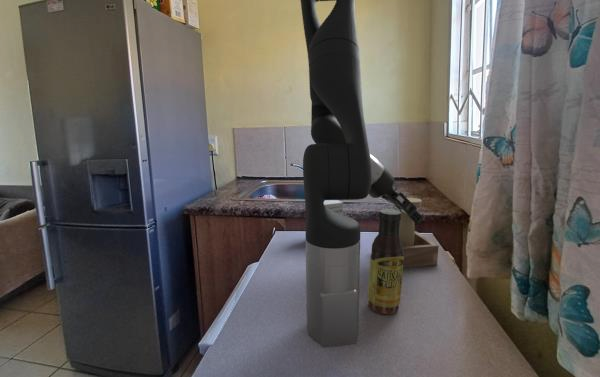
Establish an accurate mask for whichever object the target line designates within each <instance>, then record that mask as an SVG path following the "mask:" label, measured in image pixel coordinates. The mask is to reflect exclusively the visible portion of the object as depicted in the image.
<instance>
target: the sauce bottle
mask: <svg viewBox="0 0 600 377" xmlns="http://www.w3.org/2000/svg"><path fill="white" fill-rule="evenodd" d="M378 218H379V225H378V228H379V229H378V234H377V235H376V236H375V238H374V239H373V242H372V243H371V255H370V259H369V260H370V262H369V276H368V288H367V289H368V291H367V299H368V307H369V308H370V310H371V311H372V312H375V313H378V314H382V315H391V314H394V313H396V312H398V311H399V308H400V307H399V306H400V304H401V295H402V283H403V282H402V280H403V271H404V270H403V269H404V267H403V261H404V254H403V244H402V241H401V239H400V236H399V227H400V220H401V212H400V211H398V210H396V209H394V208H393V209H391V208H382V209H380V210H379V212H378Z"/></svg>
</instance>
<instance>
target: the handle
mask: <svg viewBox="0 0 600 377" xmlns="http://www.w3.org/2000/svg"><path fill="white" fill-rule="evenodd" d="M405 197H406V196H405ZM406 198H407V199H408V200H409V201H410V202H411V203H412V204H413V205H414V206H416V208H417V209H418V208H420V207H421V206H422V199H421V198H415V197H406ZM397 206H399V205H397ZM408 208H409V206H407V207H406V210H407V209H408ZM415 231H416V229H415V222H414V221H413V220H412V219H411V218H410V217H409V216H408V215H406V214H405V213H404V212H403V211H402V210H401V220H400V224H399V236H400V239H401V241H402V244H403V247H406V246H413V245H414V236H415Z"/></svg>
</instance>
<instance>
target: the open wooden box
mask: <svg viewBox="0 0 600 377" xmlns="http://www.w3.org/2000/svg"><path fill="white" fill-rule="evenodd" d="M403 254H404V261H403V268H409V267H410V268H411V267H412V268H414V267H420V266H421V267H422V266H431V265H438V258H439V256H438V255H439V245H438V244H437V243H436V242H434V241H433V240H430V239H429V238H427V237H426V236H424V235H423V234H421V233H419V232H418V231H416V230H415V236H414V245H413V246H406V247H403Z"/></svg>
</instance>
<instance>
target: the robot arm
mask: <svg viewBox="0 0 600 377" xmlns="http://www.w3.org/2000/svg"><path fill="white" fill-rule="evenodd" d="M331 1H336V2H335V3H334V6H333V8H332V10H331V11H330V13H329V14H328V16H327V17H326V18H325V19H324V20H323V22H322V23H320V20H319V18H318V13H317V7H316V6H317V4H316V3H317V2H331ZM300 7H301V16H302V24H303V25H302V26H303V31H304V38H305V45H306V51H307V60H308V62H307V63H308V79H309V97H310V101H311V114H310V115H311V118H310V119H311V120H310V121H311V122H310V123H311V125H310V136H311V138H312V140H313V142H314V143H312V144H309V145H307V147H306V148H305V149H304V151H303V157H302V177H303V179H302V180H303V192H304V204H305V290H306V291H305V292H306V293H305V296H306V297H305V298H306V299H305V300H306V304H305V305H306V330H307V331H306V332H307V334H308V335H309V337H310V338H311V339H313V340H314V341H315V342H318V343H319V344H320V347H322V348H325V347H332V346H340V345H349V344H356V343H357V342H358V333H359V323H360V322H359V320H360V319H359V318H360V315H359V314H360V313H359V312H360V311H359V310H360V304H359V303H360V270H361V269H360V265H361V263H360V261H361V258H360V256H361V226H360V225H361V224H360V223H359V222H358V221H357V220H355V219H354V218H352V217H350V216H347V215H344V214H343V215H341V214H339V213H336V212H334V211H332V210H330V209H329V208H327V207H326V206H325V205H324V201H325V200H338V201H354V200H355V201H356V200H358V201H359V200H363V199H366V198H367V197H368V196H370V197H371V198H373V199H378V198H381V199H382V200H383V201H384V202H385V203H386V204H387V205H389V206H391V207H393V209H394V210H398V211H400V212H401V210H402V211H403V212H404V213H405V214H406V215H408V216H409V217H410V218H411V219H412V220H413V221H414V224H416V225H419V224H420V223H421V222H422V221H423V220H424V217H423V216H422V215H421V214H420V213H419V212H418V211H417V210H418V208H416V206H414V205H413V204H412V203H411V202H410V201H409V200H408V199H407V198H408V197H407V198H406V195H405V194H404V193H403V192H401V191H400V190H399V189H398V188H395V187H394V184H395V176H394V175H393V174H392V173H391V172H390V171H389V170H388V169H387V168H386V167H385V165H384V164H382V162H380V161H379V160H378V159H377V158H376V157H375V156H374V155H372V153H370V148H369V142H368V135H367V129H366V122H365V115H364V108H363V96H362V94H363V93H362V92H363V91H362V71H361V70H362V69H361V67H362V66H361V58H360V57H361V55H360V47H359V46H360V45H359V39H358V31H357V30H358V29H357V21H356V0H300ZM397 205H399V206H397ZM407 206H409V208H408V209H407V210H406V207H407Z"/></svg>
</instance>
